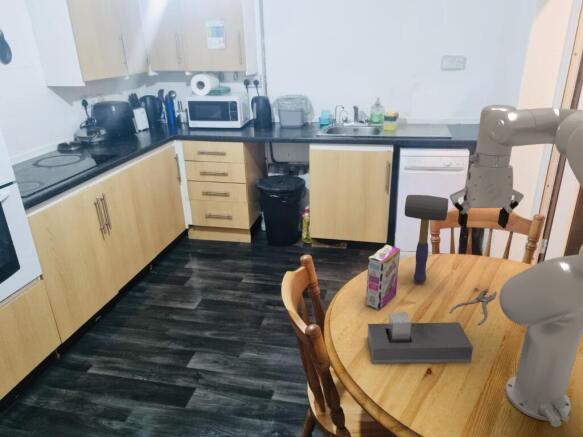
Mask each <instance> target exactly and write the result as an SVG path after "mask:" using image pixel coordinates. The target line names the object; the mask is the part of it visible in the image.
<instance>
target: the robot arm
mask: <svg viewBox="0 0 583 437" xmlns="http://www.w3.org/2000/svg"><path fill="white" fill-rule="evenodd" d="M476 140H477V141H476V148H475V151H474V154H472V155H469V156H468V161H469V162H473V163H472V164H471V165H470V168H469V170H468V173H467V177H466V180H465V185H464V188H462V189H460V190H458V191H456V192H454V193H452V194H450V195H449V199H450V201H451V202H452V206H454V207H455V208H456V210H458V218H457V224H458V225H459V226H460V228H462V230H466V229H467V224H468V217H469V214H468V213H467V212H469V211H470V209H471V208H472V209H499V214H498V220H497V224H498V225H499V226H500V227H501V228H502V229H506V228H507V224H508V223H509V219H510V214H512V212H513V210H515V209H516V208H517V207H519V205H520V203H521V201H522V200H523V198H524V195H525V194H523V193H522V192H520V191H518V190H516V189H514V169H513V168H514V166H513V165H510V162H511V156H512V151H513V150H512V148H513V147H524V146H533V145H544V144H545V145H546V144H547V145H549V144H550V145H555V148H556V151H557V152H558V153H559V154H560V155H561V156H562V157H563V158H566V159H567V162H568V165H569V168H570V170H572V173H573V175H574V177H575V179H576V180H577V181H578V184H579V186H580V187H581V188H582V189H583V109H575V108H564V107H563V108H561V107H540V108H539V107H537V108H525V109H517V108H516V107H515V106H512V105H508V104H507V105H506V104H490V105H486V106H484V107H483V108H482V110H481V112H480V116H479V124H478V133H477V139H476ZM513 196H514V197H513ZM460 198H463V201H462V202H461V203H460V202H459V199H460ZM498 300H499V306H500V309H501V311H502V313H503V314H504V315H505V317H506V319H508V320H509V321H511V322H513V323H514V324H515V325H516V324H517V325H518V326H521V327H525V328H526V330H525V332H524V337H523V342H522V347H521V351H520V356H519V359H518V366H517V371H516V375H514V376H512V377H510V378H509V379H508V380H507V382H506V383H505V389H504V392H505V395H506V397H507V399H508V400H509V402H510V403H511V405H512V406H514V407H515V408H516V409H517V410H518V411H520V412H521V413H523V414H525V415H527V416H529V417H531V418H534V419H536V420H541V421H545V422H549V424H550V425H551V426H552V427H554V428H558V427H560V426H561V425H562V421H563V422H568V421H569V420H570V416H569V415H570V412H571V408H572V404H571V399H570V398H569V396H568V394H567V389H568V388H569V387H568V386H569V382H570V379H571V375H572V372H573V368H574V364H575V360H576V357H577V354H578V353H577V352H578V350H579V346H580V344H581V340H582V337H583V253H579V254H573V255H564V256H558V257H554V258H553V257H552V258H549V259H547V260H543V261H540V262H538V263H536V264H534V265H532V266H530V267H528V268H527V269H525V270H523V271H521V272H519V273H516V274H515V275H513V276H511V277H509V278H508V279H507V280H506V281H505V282H504V284H502V286H501V289H500V292H499V297H498Z"/></svg>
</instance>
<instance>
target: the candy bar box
mask: <svg viewBox="0 0 583 437" xmlns="http://www.w3.org/2000/svg"><path fill="white" fill-rule="evenodd" d="M400 253H401V248H400V247H397V246H392V245H389V244H385V245H384V246H382V247H381V248H380V249H378V250H377V251H375V252H374V253H373V254H372V255H370V256H369V257H368V262H367V264H368V266H367V277H366V278H367V280H366V293H365V294H366V298H365V306H368V307H369V308H372V309H375V310H377V311H380V310H382V308H383V307H384V306H385V305H387V303H389V302H390V300H392V299H393V298H394V297H395V296H396V295H397V291H398V290H397V288H398V277H399V266H400Z"/></svg>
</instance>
